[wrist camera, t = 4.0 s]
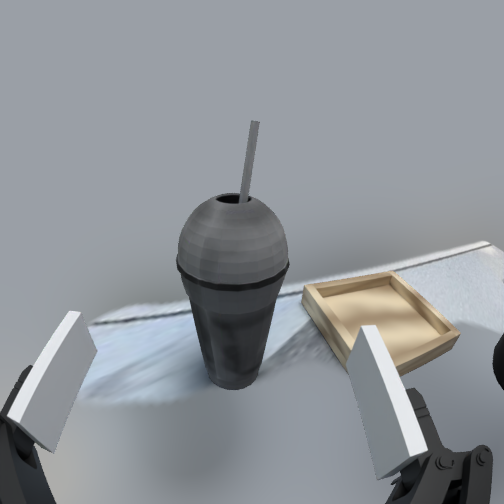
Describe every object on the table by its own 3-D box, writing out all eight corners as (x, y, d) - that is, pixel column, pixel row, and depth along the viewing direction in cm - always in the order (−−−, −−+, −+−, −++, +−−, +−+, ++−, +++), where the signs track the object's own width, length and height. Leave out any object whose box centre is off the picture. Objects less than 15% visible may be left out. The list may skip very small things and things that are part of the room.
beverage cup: (182, 353, 25) (159, 122, 15) (251, 333, 28) (262, 120, 18) (209, 414, 19) (185, 122, 10) (288, 385, 22) (331, 128, 13)
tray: (451, 349, 24) (460, 333, 23) (360, 393, 21) (369, 377, 19) (388, 285, 36) (392, 270, 35) (301, 302, 32) (304, 285, 31)
